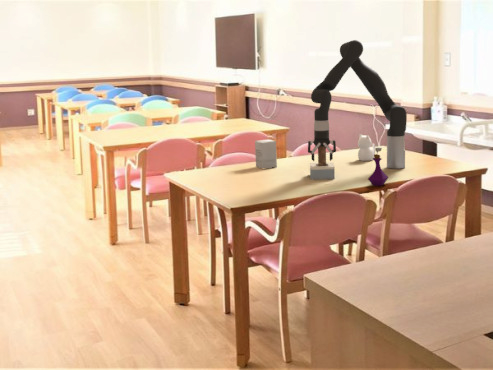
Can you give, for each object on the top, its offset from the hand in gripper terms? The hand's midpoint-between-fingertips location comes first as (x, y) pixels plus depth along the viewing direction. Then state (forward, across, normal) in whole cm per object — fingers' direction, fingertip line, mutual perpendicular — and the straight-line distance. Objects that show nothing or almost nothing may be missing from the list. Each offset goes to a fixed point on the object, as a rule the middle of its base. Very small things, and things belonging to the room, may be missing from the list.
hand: (322, 160), depth 365 cm
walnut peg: (+8, 0, 0) cm, 8 cm away
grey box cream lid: (+8, 0, 0) cm, 8 cm away
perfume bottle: (+9, -26, +22) cm, 35 cm away
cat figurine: (+9, -27, -46) cm, 54 cm away
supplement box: (+9, +30, -30) cm, 43 cm away
